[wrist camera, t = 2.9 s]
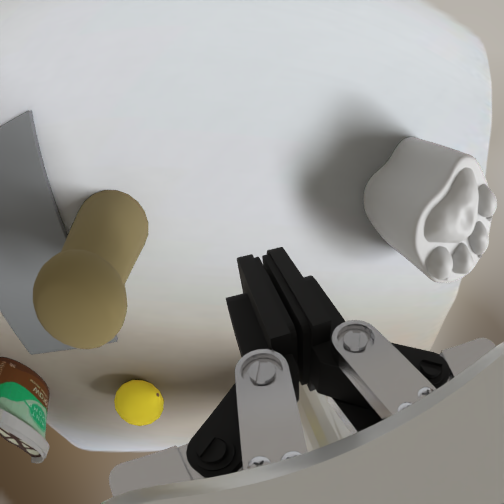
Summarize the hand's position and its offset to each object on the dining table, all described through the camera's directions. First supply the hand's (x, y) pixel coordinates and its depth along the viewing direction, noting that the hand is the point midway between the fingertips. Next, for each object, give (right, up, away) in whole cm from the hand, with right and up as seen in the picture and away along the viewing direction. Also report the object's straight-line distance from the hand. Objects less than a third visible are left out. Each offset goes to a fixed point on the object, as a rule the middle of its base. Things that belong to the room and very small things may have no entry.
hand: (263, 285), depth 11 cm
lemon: (-14, -14, +19) cm, 27 cm away
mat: (-21, +1, +8) cm, 22 cm away
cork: (-11, +3, +10) cm, 15 cm away
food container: (-28, -15, +15) cm, 36 cm away
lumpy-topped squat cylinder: (+16, +6, +16) cm, 23 cm away
